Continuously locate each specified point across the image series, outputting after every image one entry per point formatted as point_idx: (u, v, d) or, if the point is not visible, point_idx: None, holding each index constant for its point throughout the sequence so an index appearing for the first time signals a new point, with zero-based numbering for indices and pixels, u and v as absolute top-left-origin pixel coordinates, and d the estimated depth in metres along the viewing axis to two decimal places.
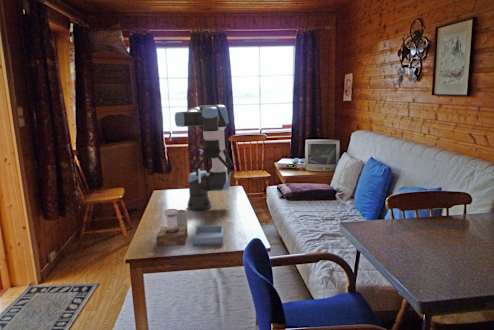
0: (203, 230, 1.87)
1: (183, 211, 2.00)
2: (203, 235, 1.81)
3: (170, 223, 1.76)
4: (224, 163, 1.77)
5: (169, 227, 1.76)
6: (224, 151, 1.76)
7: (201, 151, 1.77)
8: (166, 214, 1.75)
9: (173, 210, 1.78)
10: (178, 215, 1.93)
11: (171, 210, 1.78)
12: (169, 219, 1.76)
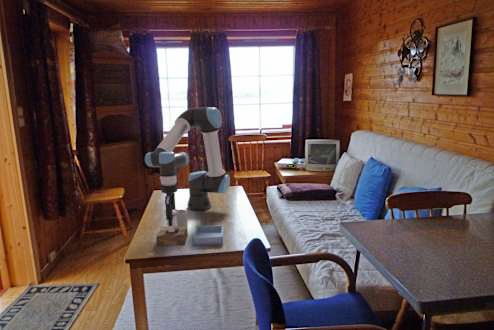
0: (203, 230, 1.87)
1: (183, 211, 2.00)
2: (203, 235, 1.81)
3: None
4: None
5: None
6: None
7: None
8: None
9: (173, 210, 1.78)
10: (178, 215, 1.93)
11: None
12: None
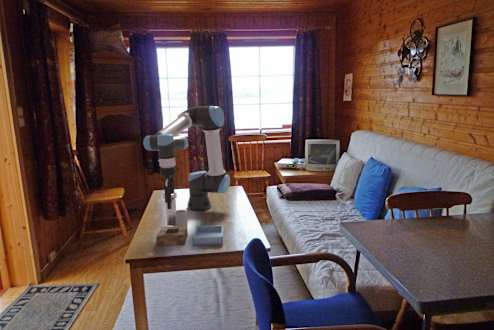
0: (203, 230, 1.87)
1: (183, 211, 2.00)
2: (203, 235, 1.81)
3: None
4: None
5: None
6: None
7: None
8: None
9: (172, 193, 1.76)
10: (178, 215, 1.93)
11: None
12: None
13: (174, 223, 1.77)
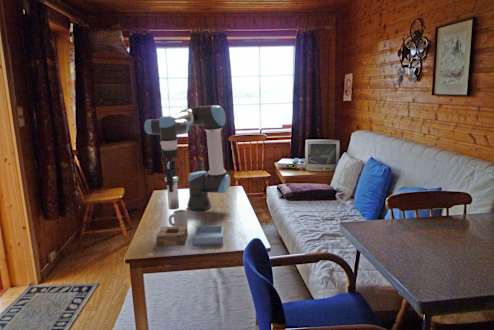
0: (203, 230, 1.87)
1: (183, 211, 2.00)
2: (203, 235, 1.81)
3: None
4: None
5: None
6: None
7: None
8: None
9: (174, 177, 1.75)
10: (178, 215, 1.93)
11: None
12: None
13: (176, 207, 1.75)
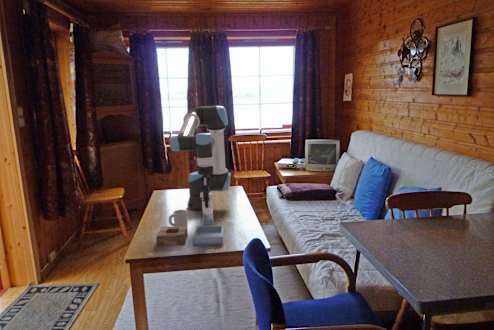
0: (203, 230, 1.87)
1: (183, 211, 2.00)
2: (203, 235, 1.81)
3: None
4: None
5: None
6: (202, 183, 1.69)
7: None
8: (202, 196, 1.74)
9: (209, 192, 1.77)
10: (178, 215, 1.93)
11: None
12: None
13: (211, 222, 1.77)
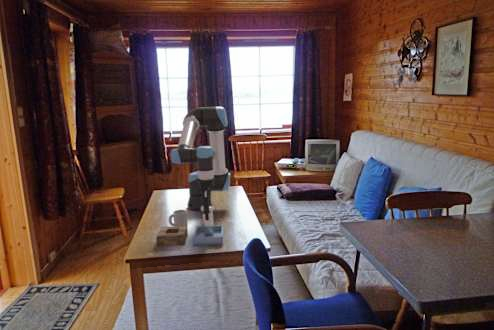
0: (203, 230, 1.87)
1: (183, 211, 2.00)
2: (203, 235, 1.81)
3: None
4: None
5: None
6: (203, 195, 1.70)
7: None
8: (203, 210, 1.75)
9: (209, 206, 1.78)
10: (178, 215, 1.93)
11: None
12: None
13: (211, 236, 1.78)
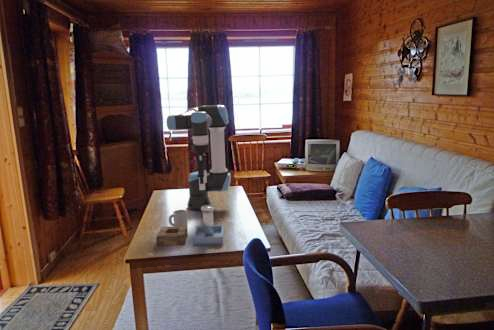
0: (203, 230, 1.87)
1: (183, 211, 2.00)
2: (203, 235, 1.81)
3: (207, 219, 1.76)
4: None
5: (206, 223, 1.77)
6: (197, 158, 1.70)
7: None
8: (203, 210, 1.75)
9: (209, 206, 1.78)
10: (178, 215, 1.93)
11: (207, 206, 1.79)
12: (206, 215, 1.76)
13: (211, 236, 1.78)
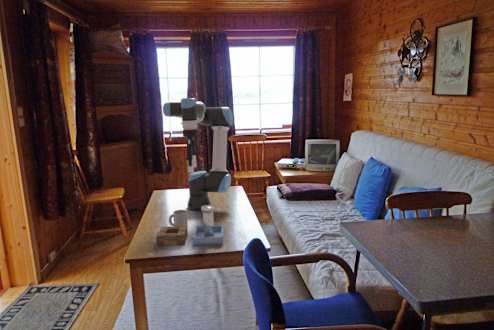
0: (203, 230, 1.87)
1: (183, 211, 2.00)
2: (203, 235, 1.81)
3: (207, 219, 1.76)
4: None
5: (206, 223, 1.77)
6: (186, 142, 1.79)
7: None
8: (203, 210, 1.75)
9: (210, 206, 1.78)
10: (178, 215, 1.93)
11: (207, 206, 1.79)
12: (206, 215, 1.76)
13: (211, 236, 1.78)
